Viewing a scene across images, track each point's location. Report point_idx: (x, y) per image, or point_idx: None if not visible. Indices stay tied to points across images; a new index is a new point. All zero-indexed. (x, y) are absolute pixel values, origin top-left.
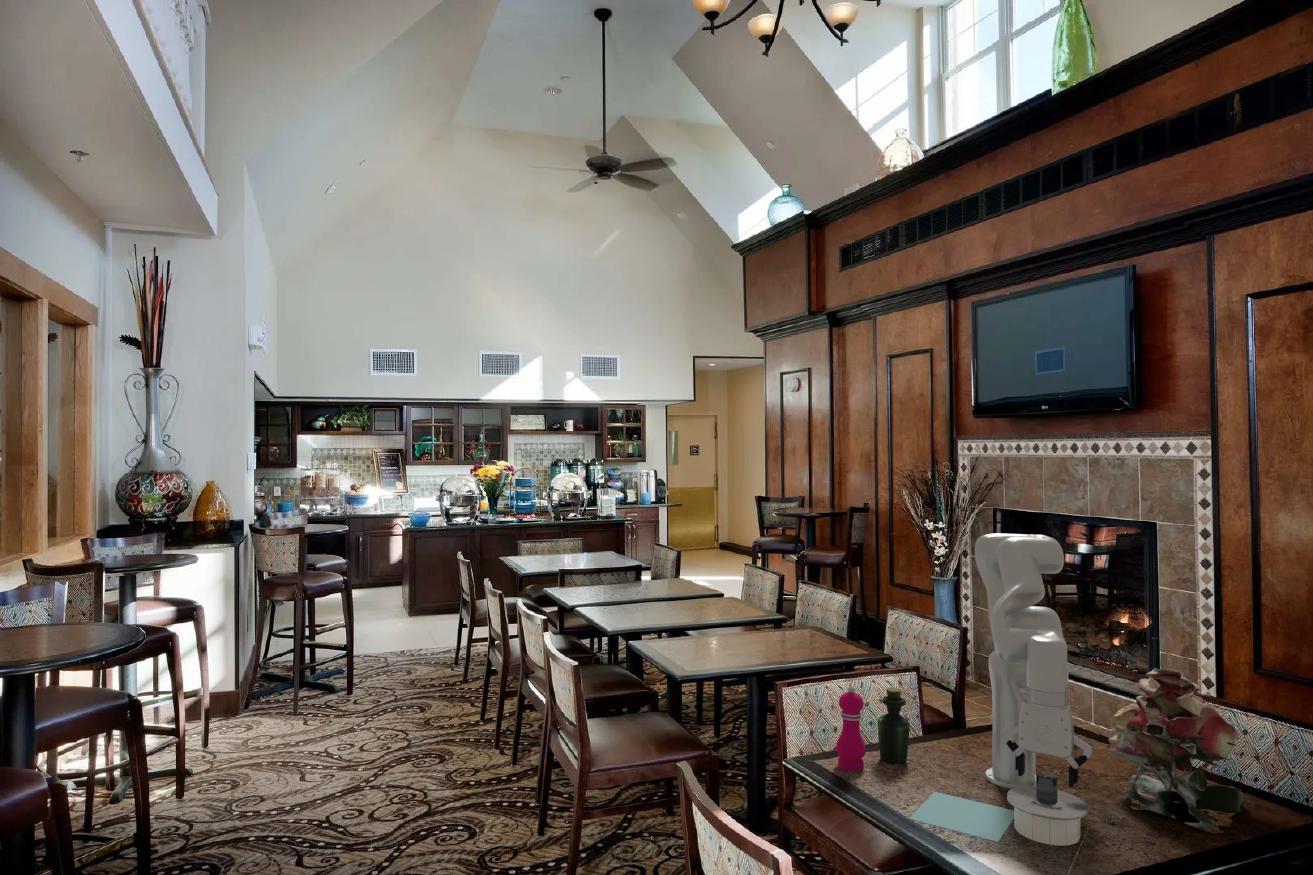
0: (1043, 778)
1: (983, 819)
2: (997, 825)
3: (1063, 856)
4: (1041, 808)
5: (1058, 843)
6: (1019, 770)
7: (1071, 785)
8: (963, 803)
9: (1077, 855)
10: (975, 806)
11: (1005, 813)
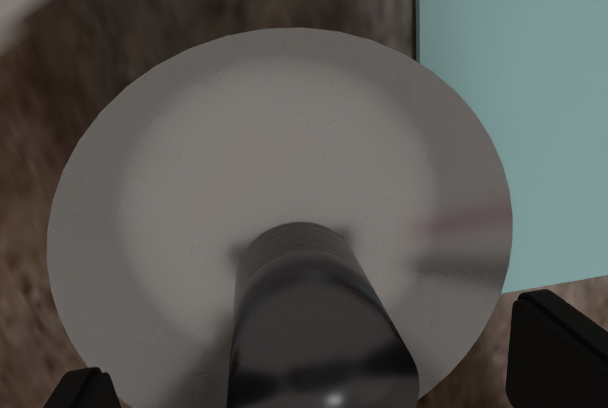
0: (329, 319)
1: (517, 141)
2: None
3: (141, 20)
4: (278, 121)
5: None
6: (571, 317)
7: (70, 380)
8: (603, 232)
9: (102, 81)
10: (561, 239)
11: None
